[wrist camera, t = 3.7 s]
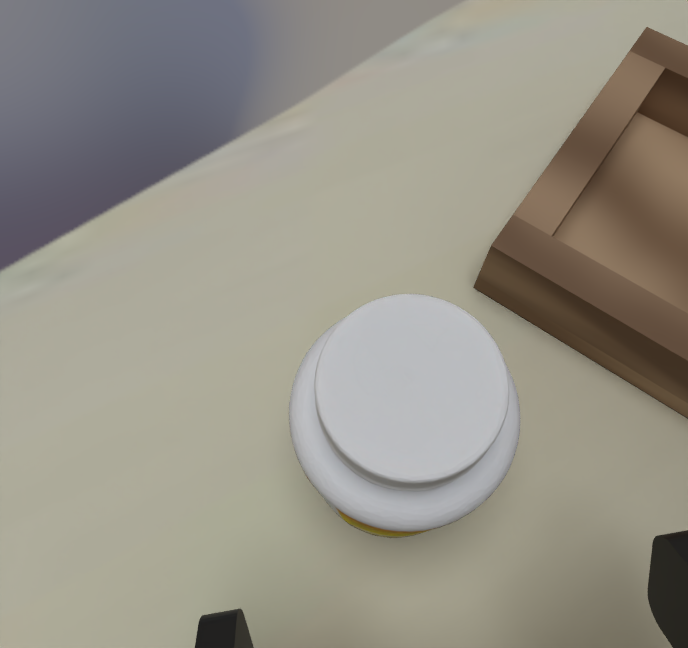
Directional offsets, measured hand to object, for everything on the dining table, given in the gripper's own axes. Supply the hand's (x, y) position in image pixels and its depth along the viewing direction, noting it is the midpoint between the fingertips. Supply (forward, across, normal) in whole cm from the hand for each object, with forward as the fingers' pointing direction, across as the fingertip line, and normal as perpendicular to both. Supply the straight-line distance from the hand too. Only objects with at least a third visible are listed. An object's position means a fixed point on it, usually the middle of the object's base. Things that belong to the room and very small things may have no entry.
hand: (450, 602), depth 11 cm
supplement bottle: (+10, 0, +4) cm, 10 cm away
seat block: (+14, -13, -1) cm, 19 cm away
